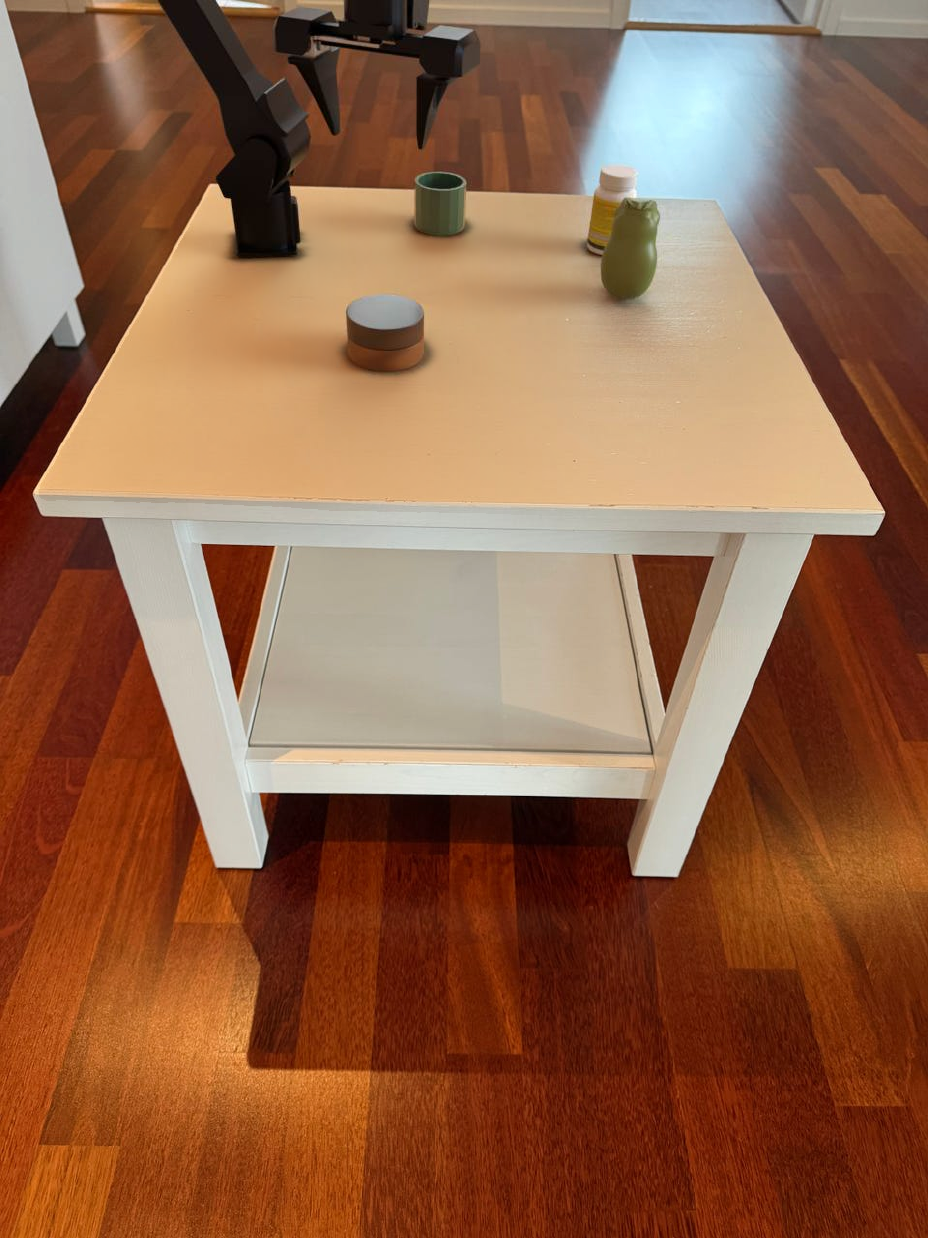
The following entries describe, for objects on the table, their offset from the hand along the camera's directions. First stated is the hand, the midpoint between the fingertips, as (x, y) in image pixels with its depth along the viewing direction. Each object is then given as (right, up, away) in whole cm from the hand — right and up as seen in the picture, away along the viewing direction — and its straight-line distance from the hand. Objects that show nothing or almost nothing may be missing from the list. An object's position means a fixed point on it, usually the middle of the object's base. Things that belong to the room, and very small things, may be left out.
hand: (378, 141), depth 91 cm
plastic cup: (+6, -1, +16) cm, 17 cm away
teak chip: (+1, -23, -6) cm, 23 cm away
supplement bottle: (+25, -5, +14) cm, 29 cm away
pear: (+25, -14, +5) cm, 29 cm away
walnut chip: (+1, -21, -7) cm, 22 cm away
